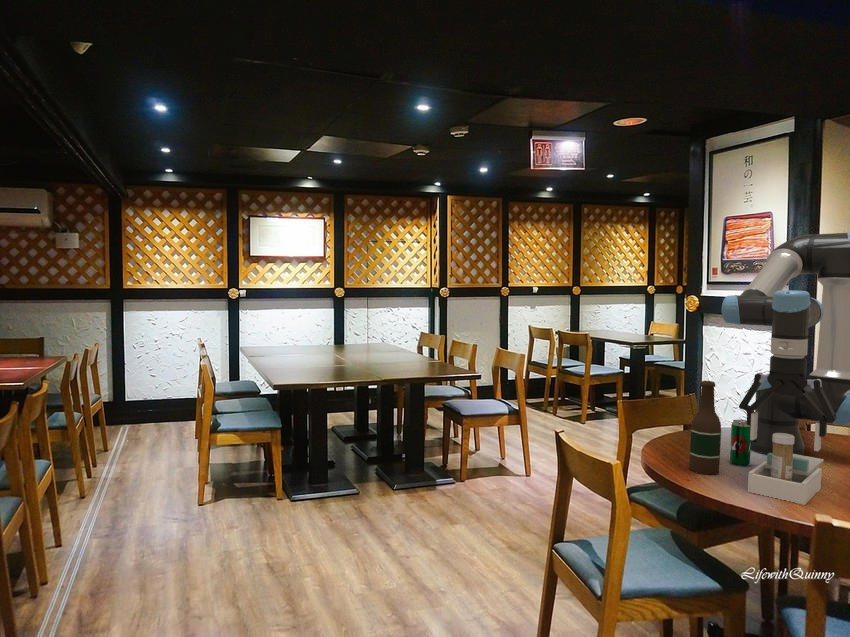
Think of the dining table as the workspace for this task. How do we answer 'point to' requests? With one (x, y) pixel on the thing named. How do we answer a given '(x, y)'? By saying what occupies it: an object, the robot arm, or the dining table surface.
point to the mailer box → (784, 485)
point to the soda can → (740, 443)
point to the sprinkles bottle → (782, 456)
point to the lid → (799, 464)
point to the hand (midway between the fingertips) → (784, 444)
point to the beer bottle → (705, 434)
